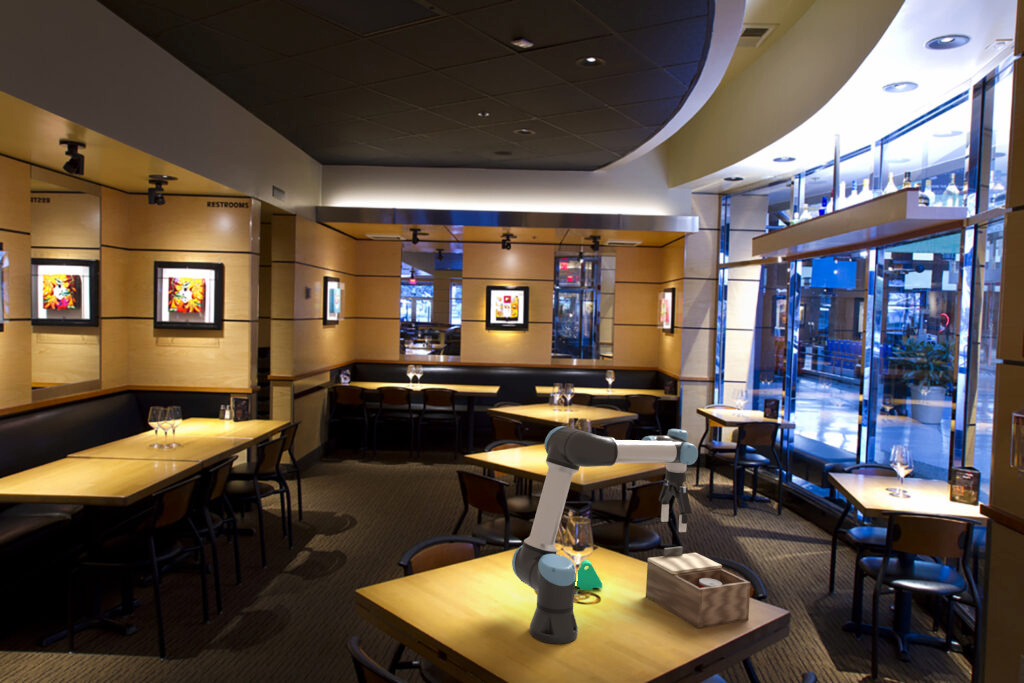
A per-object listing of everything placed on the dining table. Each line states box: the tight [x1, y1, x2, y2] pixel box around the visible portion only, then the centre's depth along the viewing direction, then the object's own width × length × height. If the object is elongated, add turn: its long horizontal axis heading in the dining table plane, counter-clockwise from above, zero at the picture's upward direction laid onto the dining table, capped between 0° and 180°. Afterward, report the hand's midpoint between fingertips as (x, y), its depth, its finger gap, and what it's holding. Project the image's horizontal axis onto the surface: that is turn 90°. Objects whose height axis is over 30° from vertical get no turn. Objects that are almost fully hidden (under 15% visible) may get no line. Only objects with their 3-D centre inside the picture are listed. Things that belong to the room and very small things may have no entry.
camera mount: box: [575, 559, 603, 591], centre depth 252 cm, size 12×8×10 cm, turn 91°
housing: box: [645, 560, 751, 630], centre depth 236 cm, size 22×28×13 cm
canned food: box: [699, 578, 722, 588], centre depth 230 cm, size 8×8×11 cm
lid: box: [647, 545, 723, 574], centre depth 243 cm, size 22×14×4 cm, turn 115°
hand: (673, 526), depth 250 cm, fingers open, 13 cm apart
